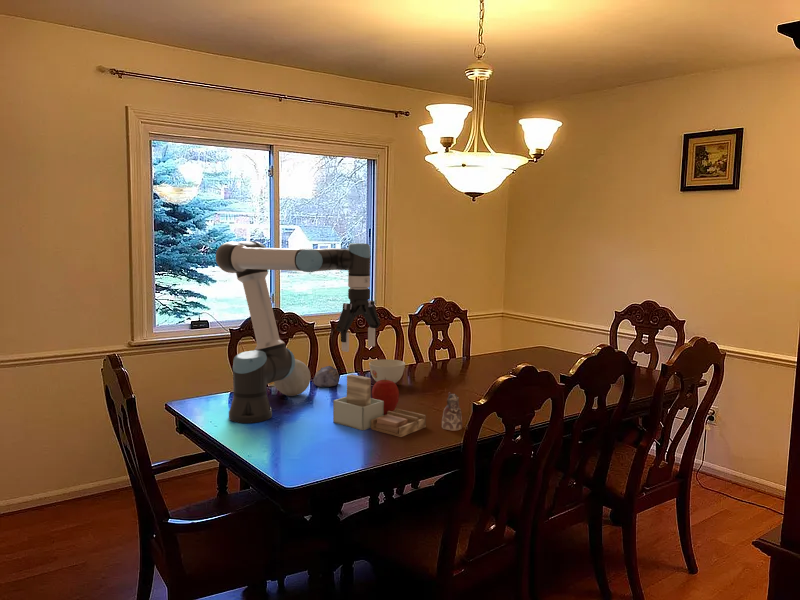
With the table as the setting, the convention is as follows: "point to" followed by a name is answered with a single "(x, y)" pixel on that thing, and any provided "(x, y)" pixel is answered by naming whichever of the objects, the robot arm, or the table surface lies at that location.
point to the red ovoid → (386, 394)
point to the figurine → (452, 414)
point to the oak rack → (414, 421)
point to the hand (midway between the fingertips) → (358, 348)
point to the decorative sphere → (295, 380)
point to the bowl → (387, 369)
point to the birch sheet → (358, 390)
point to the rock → (326, 377)
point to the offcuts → (390, 423)
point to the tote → (356, 413)
